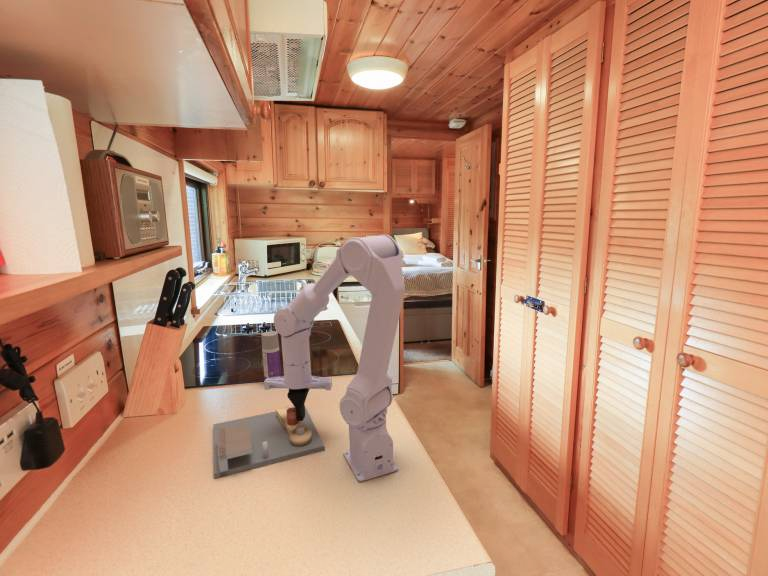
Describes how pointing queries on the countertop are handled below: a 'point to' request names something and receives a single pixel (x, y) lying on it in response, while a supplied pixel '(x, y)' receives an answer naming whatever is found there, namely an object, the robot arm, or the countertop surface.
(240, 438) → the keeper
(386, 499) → the countertop surface
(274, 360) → the container
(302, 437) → the latch
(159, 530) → the countertop surface
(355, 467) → the robot arm
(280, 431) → the board
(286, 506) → the countertop surface
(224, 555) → the countertop surface
